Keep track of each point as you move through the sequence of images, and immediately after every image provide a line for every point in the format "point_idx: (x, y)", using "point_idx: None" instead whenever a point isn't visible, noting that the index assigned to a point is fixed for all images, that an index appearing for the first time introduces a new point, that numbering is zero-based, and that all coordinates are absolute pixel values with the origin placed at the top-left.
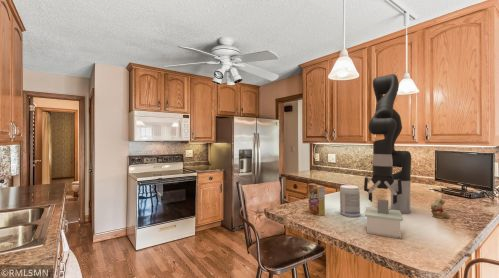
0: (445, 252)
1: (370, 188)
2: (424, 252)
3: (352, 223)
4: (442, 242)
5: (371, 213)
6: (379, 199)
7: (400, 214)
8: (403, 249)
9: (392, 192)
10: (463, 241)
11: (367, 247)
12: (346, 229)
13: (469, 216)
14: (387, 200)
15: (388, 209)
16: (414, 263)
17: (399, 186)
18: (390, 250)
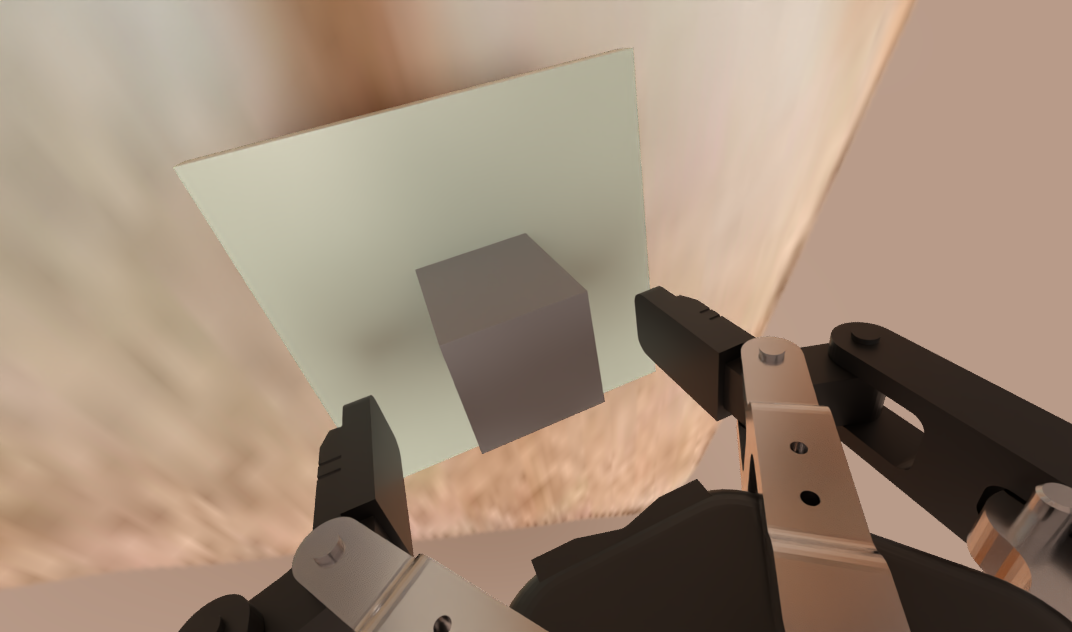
0: (739, 313)
1: (345, 619)
2: (666, 379)
3: (120, 223)
4: (760, 178)
5: (410, 421)
6: (471, 345)
7: (639, 248)
8: (594, 415)
9: (743, 461)
10: (865, 64)
11: (464, 513)
12: (216, 407)
13: None
14: (583, 318)
15: (505, 103)
16: (631, 487)
17: (956, 509)
18: (551, 465)
